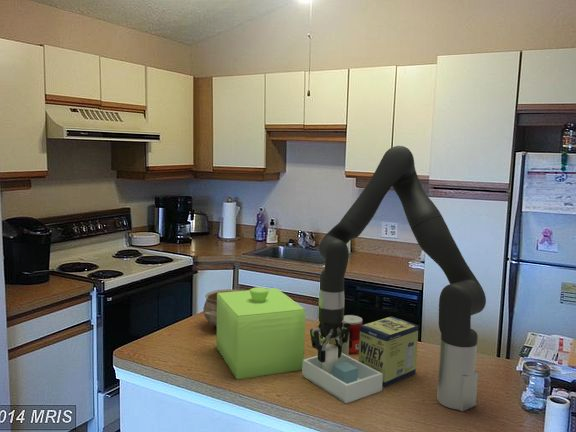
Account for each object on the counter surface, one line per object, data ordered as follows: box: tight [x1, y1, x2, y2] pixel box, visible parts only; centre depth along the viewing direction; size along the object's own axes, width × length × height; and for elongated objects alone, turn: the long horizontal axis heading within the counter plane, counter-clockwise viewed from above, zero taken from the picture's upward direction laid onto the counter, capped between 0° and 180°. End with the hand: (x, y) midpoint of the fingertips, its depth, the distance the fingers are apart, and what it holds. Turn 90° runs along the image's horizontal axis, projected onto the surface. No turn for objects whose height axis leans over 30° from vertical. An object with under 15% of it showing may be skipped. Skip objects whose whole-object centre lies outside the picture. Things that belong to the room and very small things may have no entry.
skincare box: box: [328, 321, 350, 357], centre depth 158 cm, size 6×4×12 cm
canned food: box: [343, 314, 364, 355], centre depth 167 cm, size 8×8×11 cm
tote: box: [301, 353, 383, 404], centre depth 143 cm, size 20×14×5 cm
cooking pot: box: [202, 288, 243, 327], centre depth 186 cm, size 25×19×12 cm
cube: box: [333, 362, 358, 384], centre depth 141 cm, size 5×5×5 cm
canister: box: [216, 286, 306, 380], centre depth 158 cm, size 25×21×23 cm
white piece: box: [321, 343, 338, 374], centre depth 147 cm, size 5×5×7 cm
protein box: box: [358, 315, 419, 388], centre depth 149 cm, size 10×16×16 cm
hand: (329, 359), depth 147 cm, fingers open, 5 cm apart
